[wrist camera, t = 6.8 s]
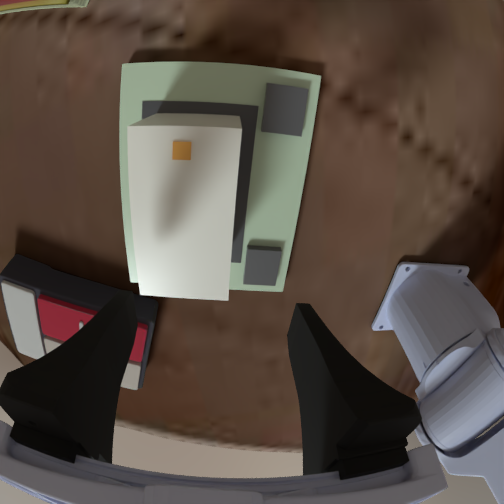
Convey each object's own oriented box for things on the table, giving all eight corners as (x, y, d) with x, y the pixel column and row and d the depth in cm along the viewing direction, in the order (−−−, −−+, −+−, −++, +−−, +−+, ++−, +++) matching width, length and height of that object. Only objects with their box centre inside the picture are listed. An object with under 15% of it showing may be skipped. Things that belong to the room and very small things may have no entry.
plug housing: (239, 115, 17) (242, 128, 12) (228, 249, 21) (228, 301, 17) (156, 113, 16) (126, 126, 12) (158, 245, 21) (139, 295, 16)
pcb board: (317, 76, 16) (337, 75, 13) (280, 284, 25) (288, 318, 21) (127, 64, 15) (102, 61, 12) (133, 274, 23) (120, 307, 20)
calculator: (141, 395, 27) (14, 356, 23) (145, 364, 31) (27, 328, 27) (154, 329, 22) (-7, 278, 18) (160, 293, 26) (15, 251, 22)
